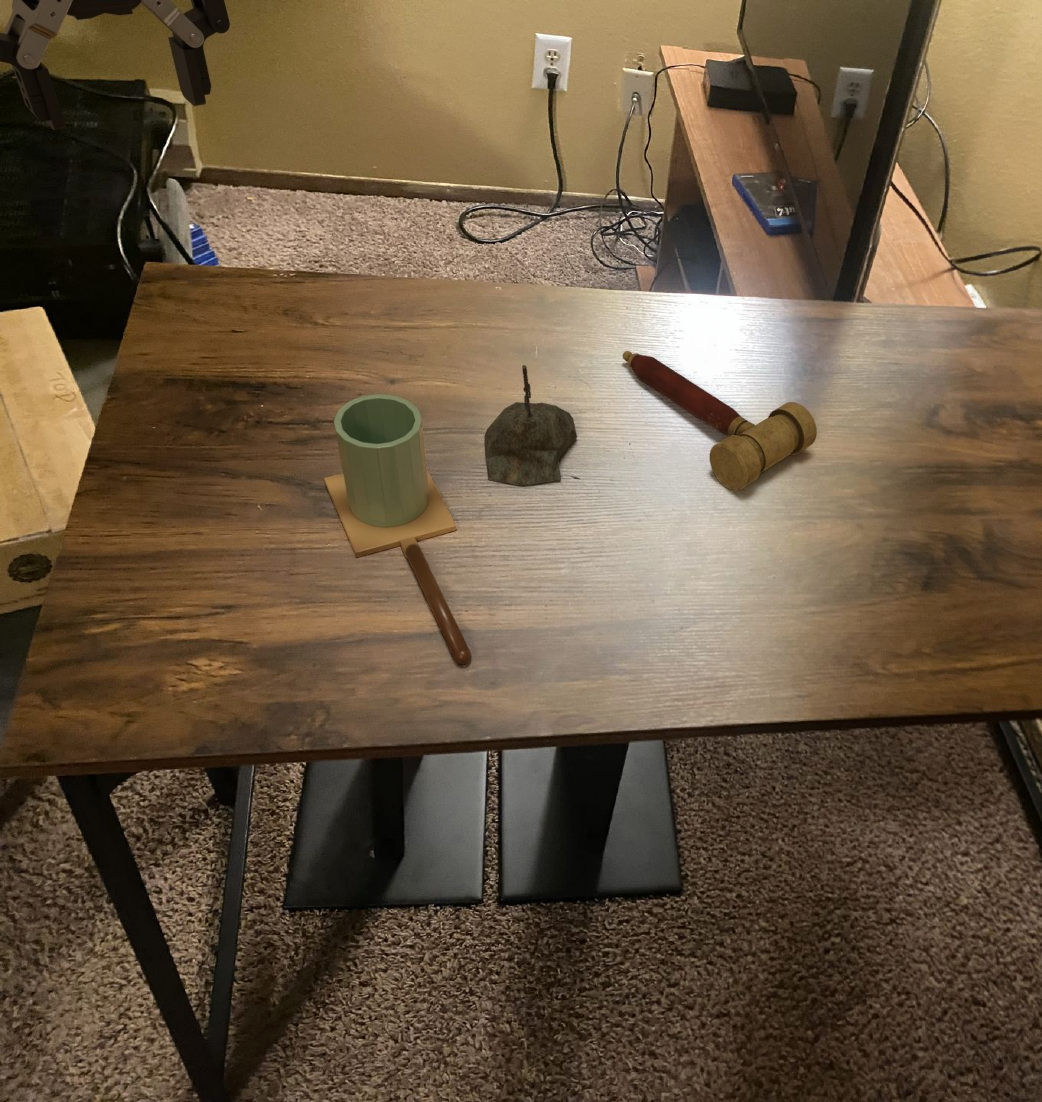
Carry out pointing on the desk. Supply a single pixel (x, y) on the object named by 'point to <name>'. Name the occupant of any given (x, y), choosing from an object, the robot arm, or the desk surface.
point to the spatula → (407, 550)
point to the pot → (382, 459)
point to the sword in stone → (528, 441)
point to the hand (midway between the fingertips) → (126, 112)
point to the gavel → (732, 425)
